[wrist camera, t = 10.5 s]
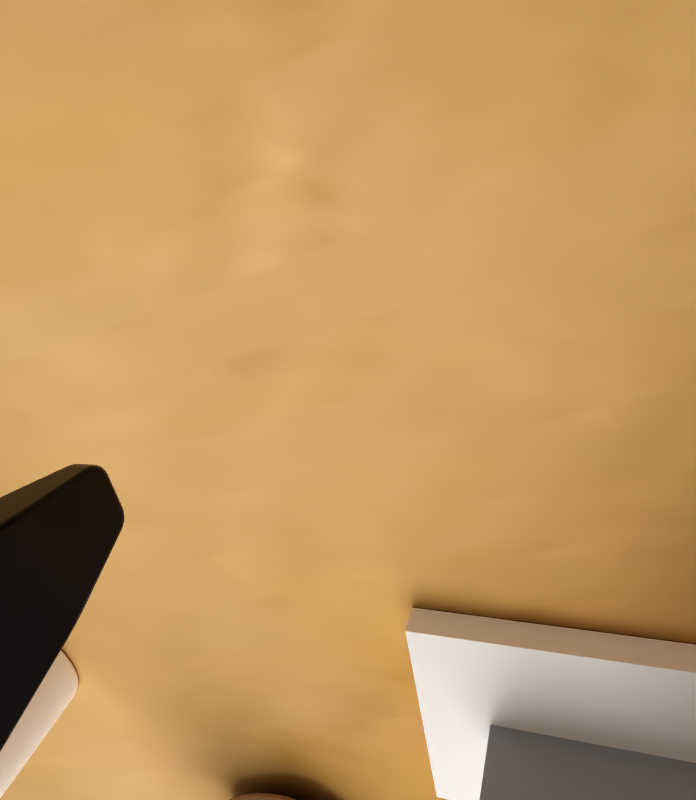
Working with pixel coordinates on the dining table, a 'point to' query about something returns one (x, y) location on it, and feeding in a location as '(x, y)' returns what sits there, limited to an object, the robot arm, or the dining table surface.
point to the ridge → (553, 710)
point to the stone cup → (261, 797)
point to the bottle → (38, 718)
